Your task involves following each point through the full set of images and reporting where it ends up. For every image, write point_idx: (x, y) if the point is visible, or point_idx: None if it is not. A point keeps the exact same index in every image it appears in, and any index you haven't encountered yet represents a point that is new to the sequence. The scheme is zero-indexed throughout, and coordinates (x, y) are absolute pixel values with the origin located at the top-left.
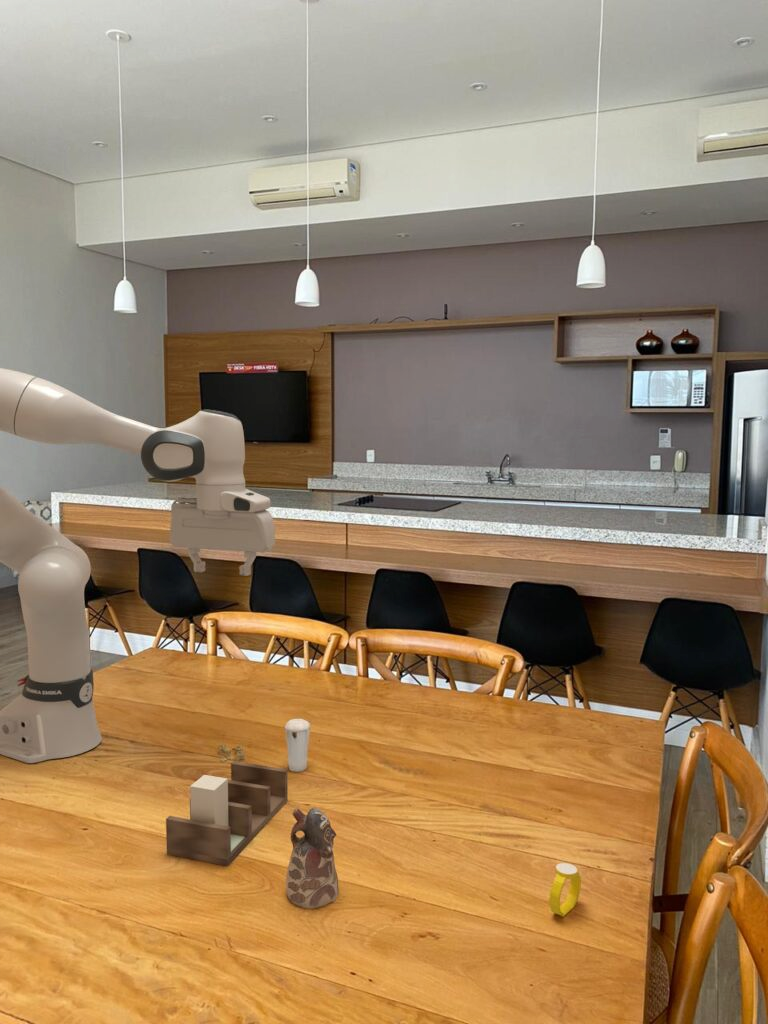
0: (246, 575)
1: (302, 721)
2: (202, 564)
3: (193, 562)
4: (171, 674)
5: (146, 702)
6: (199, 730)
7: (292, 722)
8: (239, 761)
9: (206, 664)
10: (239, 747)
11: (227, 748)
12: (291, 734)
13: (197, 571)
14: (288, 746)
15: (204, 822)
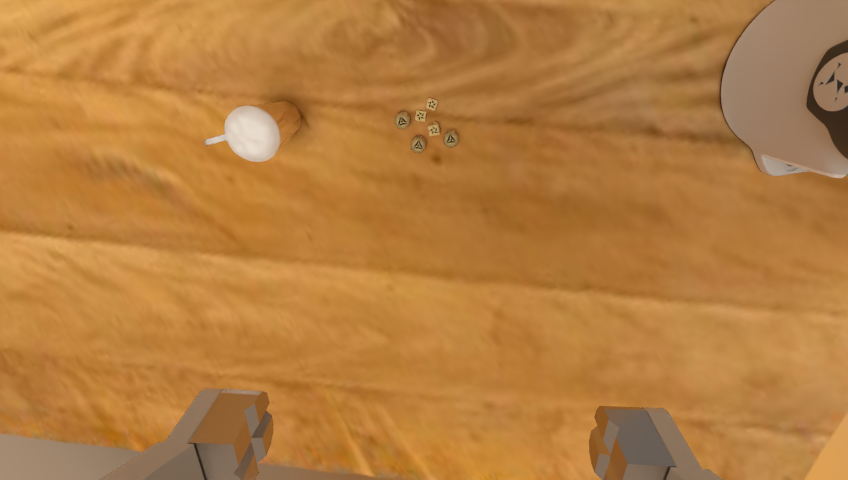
0: (211, 388)
1: (237, 138)
2: (616, 476)
3: (704, 471)
4: (702, 425)
5: (700, 305)
6: (540, 217)
7: (252, 124)
8: (401, 111)
9: None
10: (416, 145)
11: (436, 133)
12: (255, 105)
13: (632, 407)
14: (278, 108)
15: None
